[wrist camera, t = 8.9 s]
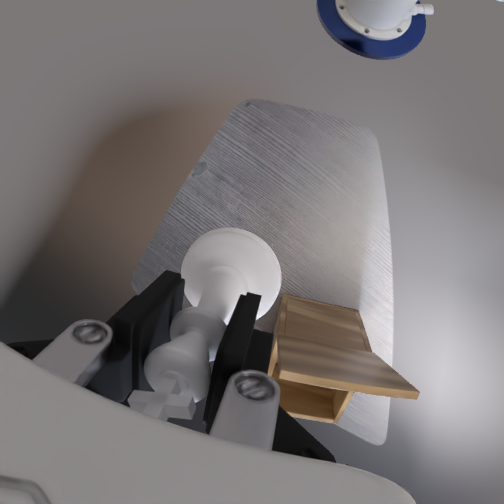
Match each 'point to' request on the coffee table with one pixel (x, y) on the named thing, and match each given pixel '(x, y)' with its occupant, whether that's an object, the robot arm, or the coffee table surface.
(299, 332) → the box
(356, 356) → the lid
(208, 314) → the chess piece
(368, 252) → the coffee table surface
